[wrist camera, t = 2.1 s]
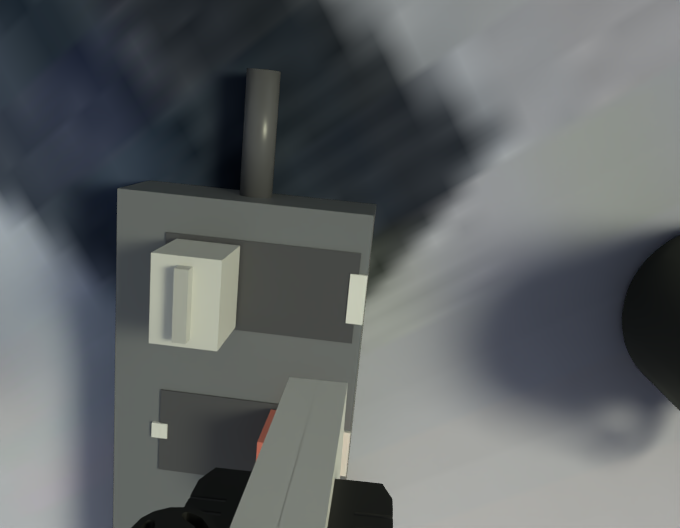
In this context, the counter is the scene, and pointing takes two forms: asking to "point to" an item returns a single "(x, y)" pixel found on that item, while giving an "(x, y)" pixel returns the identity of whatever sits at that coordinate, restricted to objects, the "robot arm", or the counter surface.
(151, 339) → the slider
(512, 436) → the counter surface
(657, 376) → the mug
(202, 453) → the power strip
